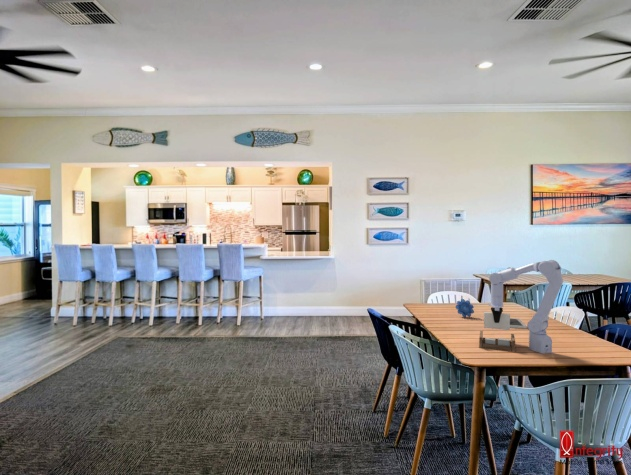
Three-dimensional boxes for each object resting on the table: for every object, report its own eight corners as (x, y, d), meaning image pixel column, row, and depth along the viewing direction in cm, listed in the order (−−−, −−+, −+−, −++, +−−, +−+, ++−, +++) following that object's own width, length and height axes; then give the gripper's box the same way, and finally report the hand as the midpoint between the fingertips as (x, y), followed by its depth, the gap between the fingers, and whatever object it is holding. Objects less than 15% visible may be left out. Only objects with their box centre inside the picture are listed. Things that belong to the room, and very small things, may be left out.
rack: (515, 353, 187) (515, 341, 187) (478, 349, 194) (478, 337, 194) (513, 340, 209) (513, 329, 209) (480, 336, 216) (480, 326, 216)
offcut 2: (509, 350, 190) (509, 340, 190) (498, 348, 192) (498, 339, 192) (509, 348, 192) (509, 339, 192) (497, 347, 194) (498, 338, 194)
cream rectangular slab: (509, 330, 202) (509, 314, 202) (484, 327, 207) (484, 312, 207) (509, 329, 204) (509, 313, 204) (484, 326, 209) (484, 311, 208)
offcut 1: (495, 348, 192) (495, 340, 192) (485, 347, 194) (485, 339, 194) (495, 347, 195) (495, 338, 195) (485, 345, 197) (485, 337, 196)
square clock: (492, 320, 258) (497, 328, 238) (492, 316, 257) (497, 323, 237) (519, 322, 253) (526, 330, 233) (519, 317, 253) (526, 325, 233)
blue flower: (456, 318, 261) (456, 299, 261) (454, 315, 268) (455, 298, 267) (475, 318, 259) (475, 300, 258) (473, 316, 265) (473, 298, 265)
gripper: (488, 293, 213) (488, 318, 214) (488, 297, 200) (488, 324, 200) (503, 294, 211) (502, 319, 211) (504, 298, 197) (503, 325, 198)
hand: (496, 322), depth 205 cm, fingers closed on cream rectangular slab, 2 cm apart
